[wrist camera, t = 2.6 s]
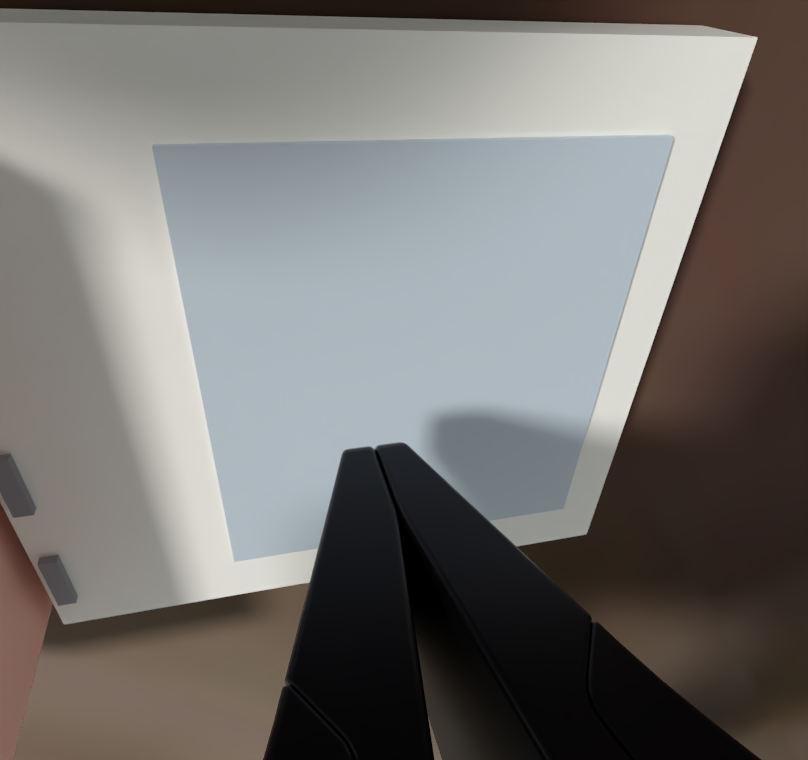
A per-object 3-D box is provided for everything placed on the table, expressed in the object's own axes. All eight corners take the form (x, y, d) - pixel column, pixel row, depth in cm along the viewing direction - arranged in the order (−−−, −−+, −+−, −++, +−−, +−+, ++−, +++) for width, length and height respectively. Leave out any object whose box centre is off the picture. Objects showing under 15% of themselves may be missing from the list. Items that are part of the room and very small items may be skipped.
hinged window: (702, 25, 9) (765, 38, 8) (564, 495, 15) (589, 539, 14) (-184, 3, 6) (-262, 19, 5) (76, 572, 12) (62, 631, 11)
